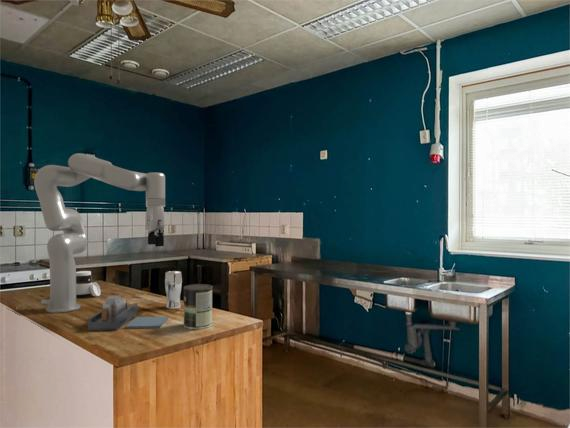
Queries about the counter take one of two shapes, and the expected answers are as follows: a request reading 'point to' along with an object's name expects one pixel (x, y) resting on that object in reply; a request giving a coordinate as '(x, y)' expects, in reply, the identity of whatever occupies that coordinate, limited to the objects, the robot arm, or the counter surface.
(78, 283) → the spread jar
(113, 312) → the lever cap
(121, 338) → the counter surface
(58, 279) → the robot arm
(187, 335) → the counter surface
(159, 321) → the mat
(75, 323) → the counter surface
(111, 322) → the body
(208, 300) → the coffee can
